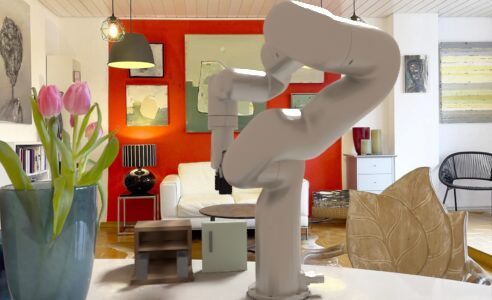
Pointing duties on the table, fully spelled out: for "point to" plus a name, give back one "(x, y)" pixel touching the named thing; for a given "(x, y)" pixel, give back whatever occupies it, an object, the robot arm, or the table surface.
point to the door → (224, 246)
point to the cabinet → (163, 249)
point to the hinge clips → (143, 265)
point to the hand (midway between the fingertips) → (223, 192)
